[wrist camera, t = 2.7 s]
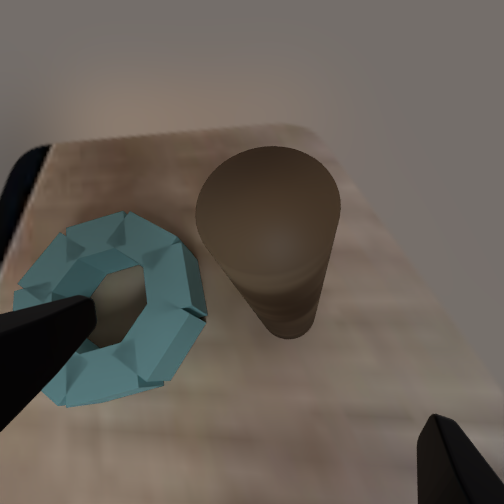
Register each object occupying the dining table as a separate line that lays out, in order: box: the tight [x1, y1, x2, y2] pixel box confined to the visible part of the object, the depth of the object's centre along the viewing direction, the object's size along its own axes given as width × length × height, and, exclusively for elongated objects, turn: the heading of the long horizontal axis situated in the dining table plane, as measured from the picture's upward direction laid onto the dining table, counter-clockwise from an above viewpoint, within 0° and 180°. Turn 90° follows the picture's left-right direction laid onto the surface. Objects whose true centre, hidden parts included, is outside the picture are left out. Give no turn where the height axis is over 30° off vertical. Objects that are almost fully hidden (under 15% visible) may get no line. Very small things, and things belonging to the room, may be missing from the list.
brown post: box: [196, 146, 341, 339], centre depth 12 cm, size 3×3×12 cm
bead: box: [13, 211, 208, 408], centre depth 18 cm, size 10×10×3 cm
